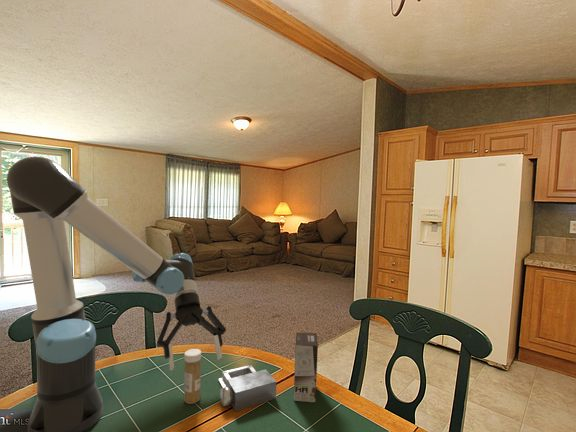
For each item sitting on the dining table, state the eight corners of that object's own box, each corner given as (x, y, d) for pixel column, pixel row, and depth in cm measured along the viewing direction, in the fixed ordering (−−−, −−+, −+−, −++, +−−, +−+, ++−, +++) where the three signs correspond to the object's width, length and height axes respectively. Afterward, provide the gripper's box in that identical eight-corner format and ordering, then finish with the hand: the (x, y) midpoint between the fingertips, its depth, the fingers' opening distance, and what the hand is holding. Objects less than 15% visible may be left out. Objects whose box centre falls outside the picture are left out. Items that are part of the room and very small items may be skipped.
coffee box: (316, 402, 87) (318, 346, 86) (293, 401, 87) (294, 344, 86) (315, 383, 96) (317, 332, 95) (294, 382, 96) (296, 331, 95)
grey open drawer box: (226, 414, 81) (226, 395, 81) (210, 382, 95) (210, 366, 94) (275, 398, 88) (276, 381, 88) (254, 371, 102) (254, 356, 101)
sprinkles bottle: (202, 401, 86) (203, 353, 85) (186, 406, 83) (186, 357, 83) (197, 392, 90) (198, 346, 89) (181, 397, 87) (182, 350, 87)
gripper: (220, 297, 111) (234, 358, 99) (143, 307, 98) (148, 378, 86) (226, 286, 106) (241, 349, 94) (145, 296, 93) (151, 369, 81)
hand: (196, 363), depth 90 cm, fingers open, 13 cm apart
